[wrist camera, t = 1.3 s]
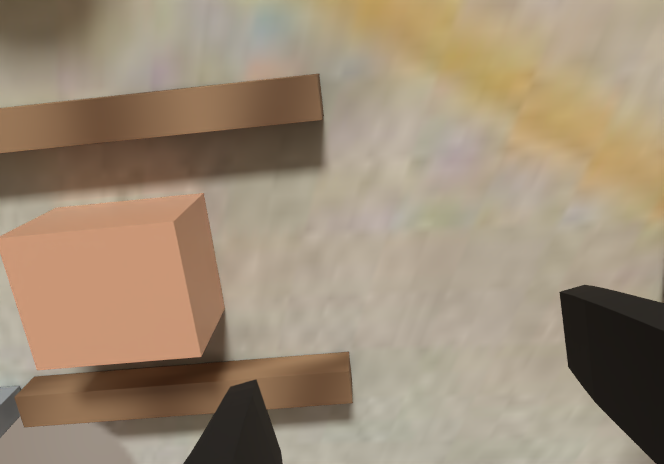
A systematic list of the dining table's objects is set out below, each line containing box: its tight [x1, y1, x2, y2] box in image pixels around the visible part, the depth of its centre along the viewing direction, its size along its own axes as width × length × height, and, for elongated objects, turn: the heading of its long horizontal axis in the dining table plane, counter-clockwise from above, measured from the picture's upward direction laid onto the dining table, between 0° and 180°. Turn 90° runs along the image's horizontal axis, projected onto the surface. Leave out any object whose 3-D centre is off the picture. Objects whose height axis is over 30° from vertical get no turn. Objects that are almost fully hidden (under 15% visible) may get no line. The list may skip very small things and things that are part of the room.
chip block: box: [0, 193, 225, 370], centre depth 20 cm, size 6×5×4 cm
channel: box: [0, 74, 353, 427], centre depth 21 cm, size 14×13×2 cm
